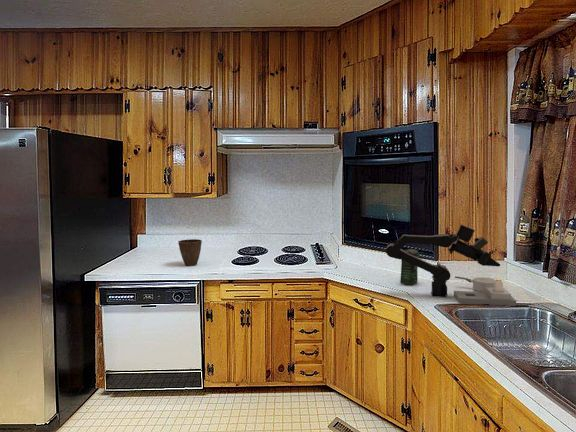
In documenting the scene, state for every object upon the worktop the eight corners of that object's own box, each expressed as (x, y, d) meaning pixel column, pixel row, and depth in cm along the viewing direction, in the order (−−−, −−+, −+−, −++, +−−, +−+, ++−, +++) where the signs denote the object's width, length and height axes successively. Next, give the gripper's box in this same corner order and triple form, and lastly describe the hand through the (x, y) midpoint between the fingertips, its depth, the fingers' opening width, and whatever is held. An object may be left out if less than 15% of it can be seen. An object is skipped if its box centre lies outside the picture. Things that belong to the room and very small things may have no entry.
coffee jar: (412, 286, 220) (413, 251, 219) (398, 284, 225) (399, 249, 224) (419, 282, 228) (420, 248, 226) (405, 280, 233) (406, 247, 231)
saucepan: (456, 284, 225) (457, 274, 224) (498, 289, 214) (498, 278, 214) (452, 289, 215) (452, 278, 215) (495, 295, 205) (496, 283, 204)
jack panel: (458, 303, 192) (459, 292, 191) (453, 295, 204) (454, 285, 203) (516, 306, 187) (516, 295, 187) (507, 298, 199) (507, 287, 198)
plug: (495, 296, 193) (495, 280, 192) (493, 295, 196) (494, 278, 195) (502, 297, 192) (503, 280, 192) (500, 295, 195) (501, 279, 194)
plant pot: (175, 267, 270) (174, 242, 269) (184, 262, 285) (183, 239, 284) (197, 267, 269) (197, 242, 267) (205, 262, 283) (204, 239, 282)
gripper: (476, 235, 190) (511, 250, 187) (468, 232, 208) (500, 246, 205) (465, 257, 191) (499, 273, 188) (458, 252, 209) (489, 266, 206)
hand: (497, 264), depth 197 cm, fingers open, 9 cm apart
